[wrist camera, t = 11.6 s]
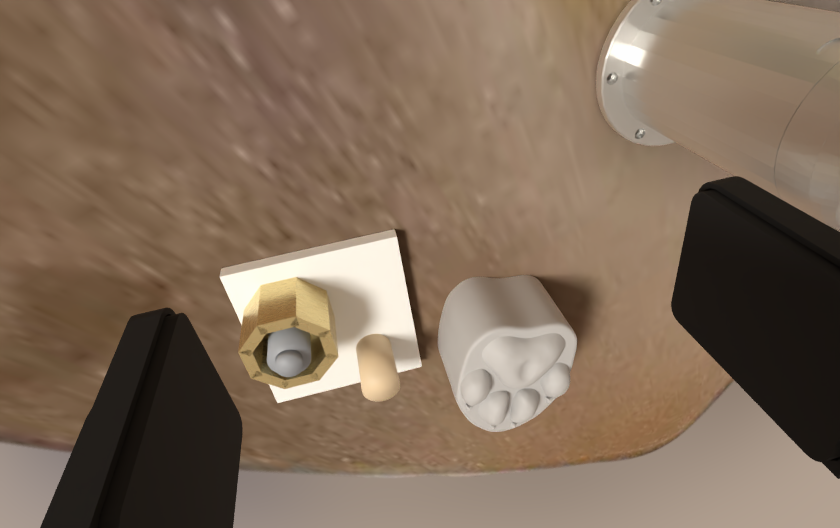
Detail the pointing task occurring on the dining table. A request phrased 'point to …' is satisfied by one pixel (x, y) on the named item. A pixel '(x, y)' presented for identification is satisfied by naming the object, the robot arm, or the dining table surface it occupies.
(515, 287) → the lumpy-topped squat cylinder
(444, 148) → the dining table surface
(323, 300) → the brass collar
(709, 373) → the dining table surface
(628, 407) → the dining table surface
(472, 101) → the dining table surface
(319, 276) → the post board
